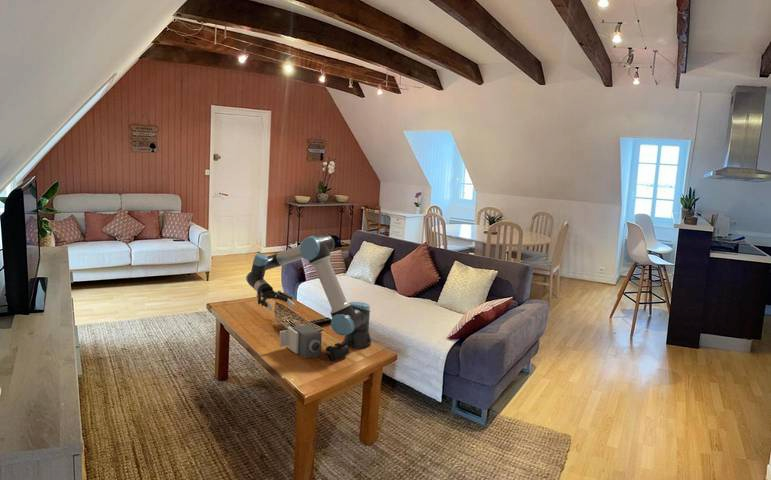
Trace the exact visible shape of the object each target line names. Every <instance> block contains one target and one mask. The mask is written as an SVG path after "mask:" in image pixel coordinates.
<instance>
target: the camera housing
mask: <svg viewBox="0 0 771 480" xmlns="http://www.w3.org/2000/svg"><path fill="white" fill-rule="evenodd" d="M292 329H294V330H295V331H297V332H298V333H299V341H298V353H297V354H298V355H299V356H301V357H302V358H303V359H305V360H307V359H311V358H316V357H319V356H321V355H322V339H323V337H322V336H323V335H322V334H323V332H321V331H320V330H318V329H316V328H314V327H313V326H311V325H310V324H304V325H299V326H293V327H292Z"/></svg>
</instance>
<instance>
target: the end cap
mask: <svg viewBox="0 0 771 480" xmlns="http://www.w3.org/2000/svg"><path fill="white" fill-rule="evenodd" d="M349 348H350V347H348V346H347V345H346V344H344V343H341V342H340V343H339V342H338V343H334V346H332V345H329V346H326V348H325V351H326V353H325V357H326V358H325V359H326V360H328V361H330V362H333V361H337V360H339V359H342V358H344V357H346V356H347V355H349V353H350V349H349Z"/></svg>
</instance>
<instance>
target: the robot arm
mask: <svg viewBox="0 0 771 480" xmlns="http://www.w3.org/2000/svg"><path fill="white" fill-rule="evenodd" d="M334 249H335V240H334V238H333V237H332V235H330V234H329V233H319V234H314V235H310V236H307V237H305V238H304V239H303V240H302V241H301V243H300V245H298V246H295V247H294V246H293V247H292V248H288V249H286V250H283V251H282V250H281V251H280V252H278V253H273V254H270V255H266V254H264V253H257V254H255V255H254V257H253V261H252V265H251V271H250V272H248V274H247V275H246V276H245V277H246V278H245V280H246V282H247V283H248V286H250V287H251V288H253V290H254V291H256V298H257V305H260V306H261V307H265V308H266V309H267V310H268V311H269V312H272V310H273V305H272V304H271V303H270V302H269V301H268V299H269V300H270V299H273V300H279V301H282V302H285V303H286V304H287V305H288V306H289V307H290V308H291V309H292V310H294V309H295V307H296V303H294V302H293V297H292V296H290V295H288V294H286V293H284V292H282V291H281V290H277V291H275V290H274V288H273V286H272V285H270V284H269V283H268V282H267V281H266V280H265V279H264V277H265V274H266V271H269V270H271V269H275V268H278V267H281V266H284V265H288V264H290V263H293V262H297V261H300V260H303V259H305V260H306V261H308V263H309V265H311V266H312V267H314V270H315V272H316V275H317V277H318V279H319V282H320V284H321V286H322V288H323V291H324V293H325V296H326V298H327V301H328V303H329V305H330V307H331V311H330V316H331V320H330V327H331V329H332V331H333V332H334V333H335V334H337V335H339V336H344V338H343V344H346V345H347V346H348V348H350V349H357V350H358V349H359V350H361V349H366V348H369V347H370V346H371V345H372V338H371V333H370V315H371V314H370V313H371V310H370V309H371V306H370V304H369V303H367V302H362V301H350V302H347V301H348V300H347V299H346V297H345V294H344V292H343V290H342V287H341V284H340V282H339V280H338V277H337V274H336V272H335V271H334V267H333V266H332V264H331V261H330V259H331V253H332V252H333V250H334Z"/></svg>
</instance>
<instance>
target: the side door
mask: <svg viewBox="0 0 771 480" xmlns="http://www.w3.org/2000/svg"><path fill="white" fill-rule="evenodd" d="M298 341H299V333H298V332H297V331H295V330H294V329H293V327H291V326H287V329H285V330H280V331H279V345H278V347H285V346H286V348H288V349H289V350H291V352H293V353H294V354H298Z"/></svg>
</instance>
